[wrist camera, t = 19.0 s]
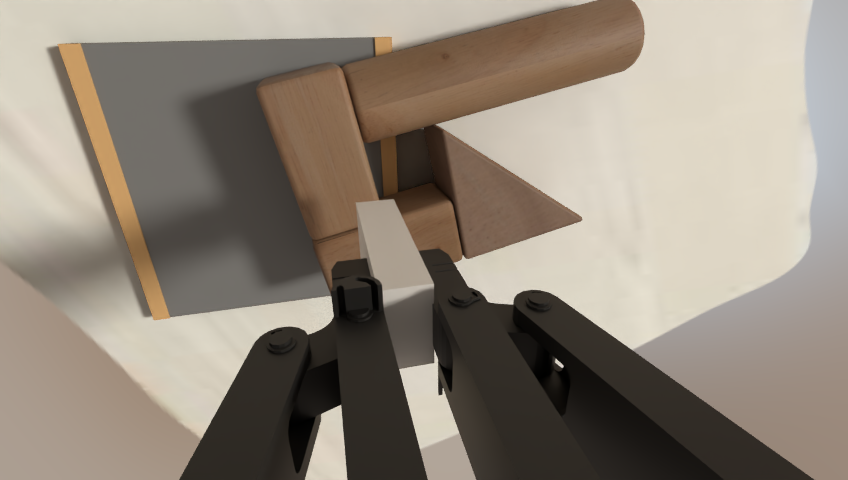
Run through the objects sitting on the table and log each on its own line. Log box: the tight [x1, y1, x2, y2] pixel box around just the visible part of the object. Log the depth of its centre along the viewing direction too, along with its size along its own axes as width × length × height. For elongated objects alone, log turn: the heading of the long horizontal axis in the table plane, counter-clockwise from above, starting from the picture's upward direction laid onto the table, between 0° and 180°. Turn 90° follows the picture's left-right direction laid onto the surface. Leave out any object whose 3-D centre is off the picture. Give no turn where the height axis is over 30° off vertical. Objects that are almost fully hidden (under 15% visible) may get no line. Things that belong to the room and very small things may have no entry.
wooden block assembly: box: [256, 0, 645, 297], centre depth 22 cm, size 4×11×18 cm
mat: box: [58, 37, 398, 320], centre depth 23 cm, size 14×14×1 cm
